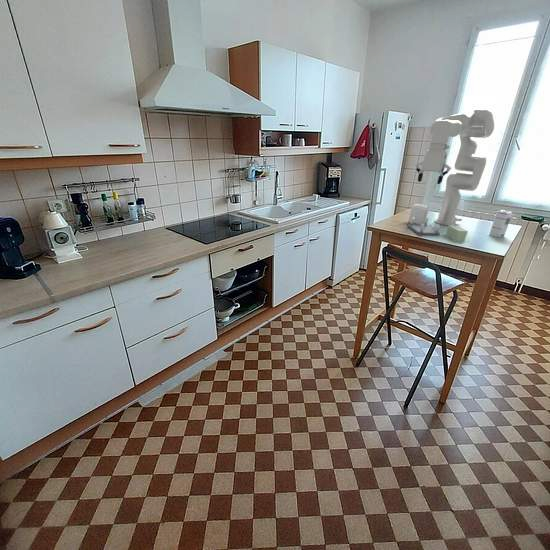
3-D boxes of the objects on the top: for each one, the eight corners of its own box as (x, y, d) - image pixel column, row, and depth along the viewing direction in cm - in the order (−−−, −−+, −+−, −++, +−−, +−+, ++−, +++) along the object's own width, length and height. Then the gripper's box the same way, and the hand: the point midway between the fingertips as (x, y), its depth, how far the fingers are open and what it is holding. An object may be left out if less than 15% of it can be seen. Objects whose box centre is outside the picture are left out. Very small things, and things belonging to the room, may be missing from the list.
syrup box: (499, 237, 169) (508, 212, 162) (488, 234, 173) (497, 210, 167) (504, 236, 172) (513, 211, 165) (493, 233, 176) (501, 209, 170)
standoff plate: (426, 227, 185) (429, 217, 182) (439, 235, 169) (442, 225, 167) (407, 226, 185) (409, 217, 182) (418, 234, 170) (421, 224, 167)
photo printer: (407, 222, 195) (411, 203, 189) (410, 221, 197) (414, 202, 192) (422, 225, 188) (427, 206, 182) (425, 224, 190) (430, 205, 185)
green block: (454, 235, 171) (457, 225, 168) (464, 241, 161) (467, 231, 159) (445, 235, 171) (448, 225, 169) (455, 241, 161) (458, 230, 159)
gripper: (458, 148, 145) (448, 184, 153) (422, 146, 156) (415, 180, 164) (454, 148, 141) (444, 185, 148) (417, 146, 151) (409, 181, 159)
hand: (428, 182), depth 156 cm, fingers open, 9 cm apart
